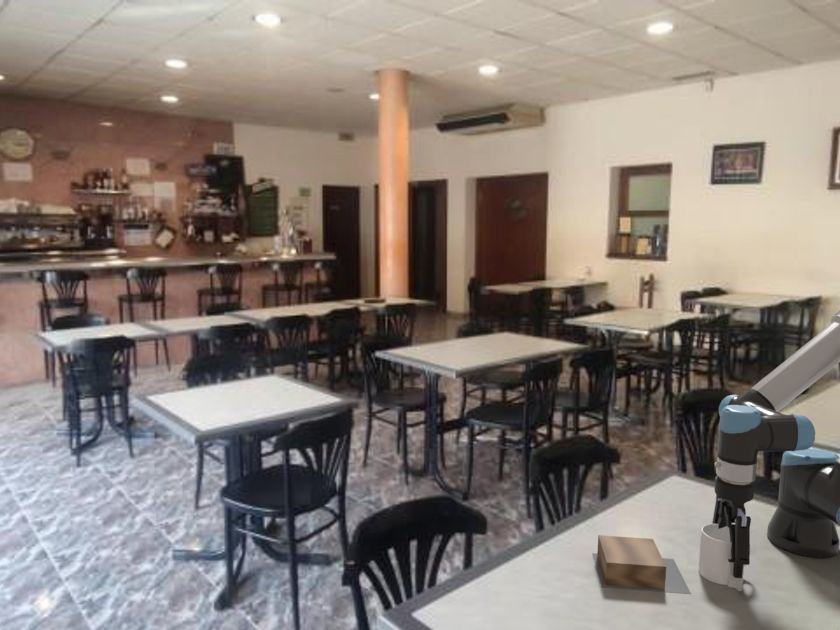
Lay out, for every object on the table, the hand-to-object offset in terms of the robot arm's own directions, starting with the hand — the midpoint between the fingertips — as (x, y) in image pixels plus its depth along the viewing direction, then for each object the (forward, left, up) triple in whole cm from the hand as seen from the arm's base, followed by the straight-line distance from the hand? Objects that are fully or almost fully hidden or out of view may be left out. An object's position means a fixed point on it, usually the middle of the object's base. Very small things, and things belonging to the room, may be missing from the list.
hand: (726, 577), depth 139 cm
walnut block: (+21, +2, +1) cm, 21 cm away
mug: (0, -1, -1) cm, 1 cm away
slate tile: (+19, +2, 0) cm, 19 cm away
